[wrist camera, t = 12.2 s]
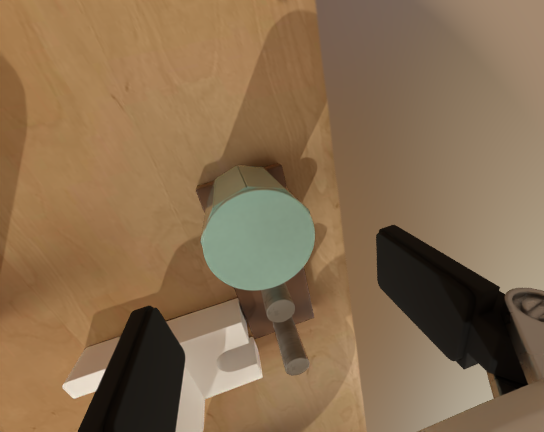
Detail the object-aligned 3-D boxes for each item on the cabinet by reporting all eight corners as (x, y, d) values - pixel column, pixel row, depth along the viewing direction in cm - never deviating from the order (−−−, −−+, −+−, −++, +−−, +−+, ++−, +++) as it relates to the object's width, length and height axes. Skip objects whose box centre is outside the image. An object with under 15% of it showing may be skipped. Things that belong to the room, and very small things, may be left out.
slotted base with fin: (238, 297, 27) (249, 400, 17) (258, 349, 31) (276, 458, 21) (80, 349, 25) (-14, 501, 15) (124, 398, 29) (72, 543, 19)
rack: (197, 185, 21) (184, 217, 14) (278, 162, 22) (307, 181, 14) (252, 329, 29) (263, 397, 22) (310, 309, 30) (338, 367, 23)
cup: (241, 147, 19) (254, 161, 12) (298, 198, 22) (337, 235, 15) (191, 208, 20) (174, 255, 13) (252, 249, 23) (267, 307, 16)
